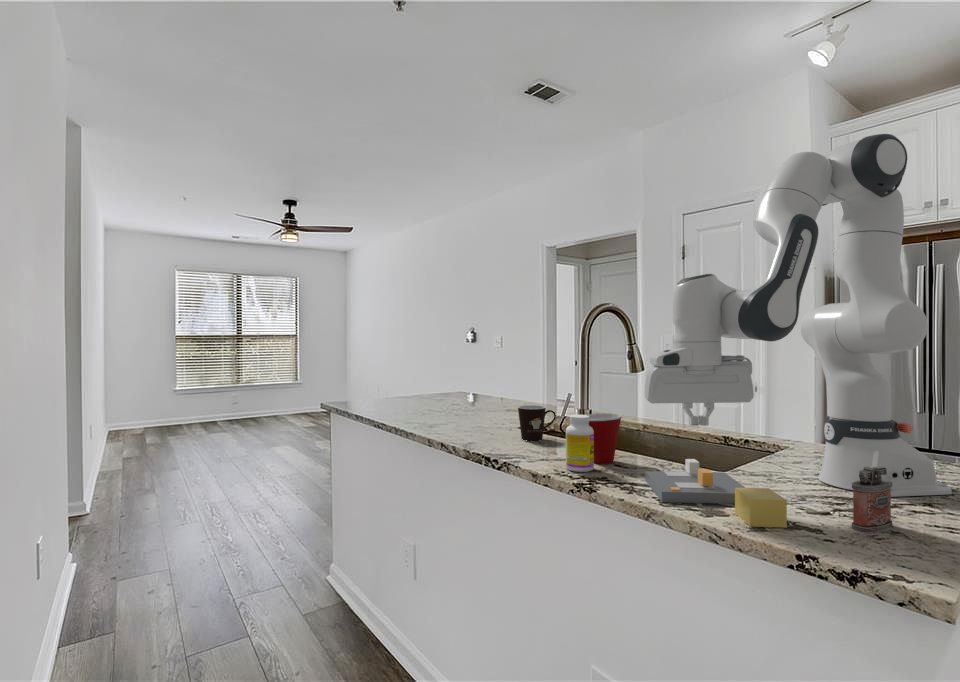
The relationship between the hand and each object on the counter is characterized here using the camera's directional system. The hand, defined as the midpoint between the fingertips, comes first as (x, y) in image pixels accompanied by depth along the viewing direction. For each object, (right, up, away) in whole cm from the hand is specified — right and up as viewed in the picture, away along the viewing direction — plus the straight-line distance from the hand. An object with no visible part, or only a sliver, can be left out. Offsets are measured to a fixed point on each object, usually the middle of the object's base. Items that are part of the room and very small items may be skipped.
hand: (698, 425), depth 103 cm
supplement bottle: (-20, -14, +21) cm, 32 cm away
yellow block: (+5, -14, -14) cm, 20 cm away
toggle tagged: (+1, -12, 0) cm, 12 cm away
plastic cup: (-13, -14, +29) cm, 34 cm away
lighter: (+22, -14, -17) cm, 31 cm away
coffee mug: (-26, -14, +56) cm, 64 cm away
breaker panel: (+1, -14, +3) cm, 14 cm away
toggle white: (+2, -12, +8) cm, 14 cm away
